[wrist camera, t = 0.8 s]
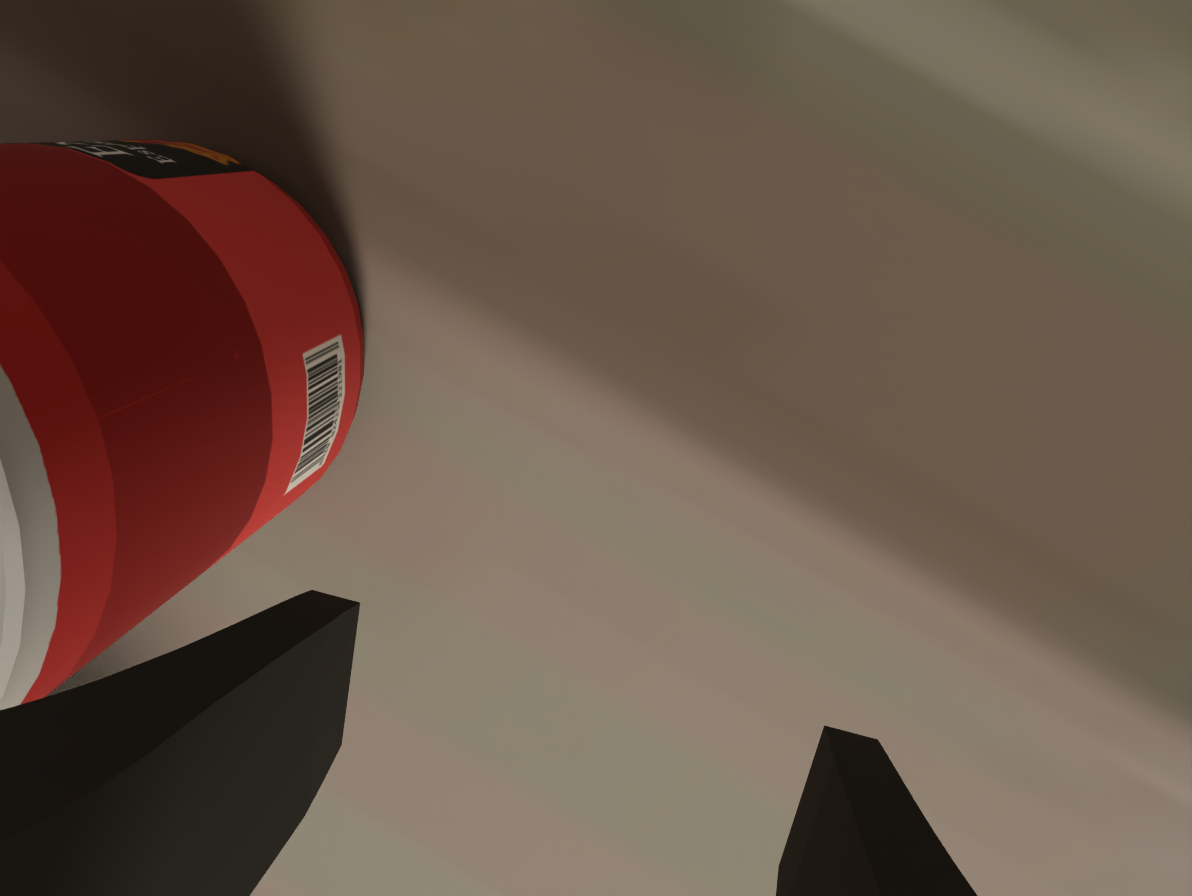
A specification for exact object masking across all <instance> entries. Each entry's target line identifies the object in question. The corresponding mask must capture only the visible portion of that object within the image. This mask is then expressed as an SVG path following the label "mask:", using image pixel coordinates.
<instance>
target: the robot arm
mask: <svg viewBox="0 0 1192 896" xmlns="http://www.w3.org/2000/svg"><path fill="white" fill-rule="evenodd" d="M359 607H360V603H359V602H355V601H352V600H348V599H344V598H340V597H337V596H333V595H329V594H325V593H321V592H318V591H314V590H310V591H308V592H305V593H303V594H300V595H298V596H295V597H293V598H291V599H288V600H286V601H284V602H281V603H279V604H277V605H275V606H273V607H271V608H268V609H266V610H264V611H262V612H260V613H257V614H255V615H253V616H251V617H249V618H247V619H244V620H242V621H240V622H238V623H236V624H234V625H231V626H229V627H227V628H225V629H222V630H220V631H218V632H216V633H213V634H211V635H209V636H207V637H204V638H202V639H200V640H198V641H195V642H193V643H191V644H189V645H186V646H184V647H182V648H179V649H177V650H174V651H172V652H169V653H167V654H164V655H162V656H159V657H157V658H154V659H151V660H149V661H146V662H144V663H141V664H139V665H136V666H133V667H131V668H128V669H126V670H123V671H121V672H118V673H116V674H113V675H110V676H108V677H105V678H103V679H100V680H97V681H94V682H91V683H88V684H86V685H83V686H80V687H77V688H73V689H70V690H67V691H64V692H61V693H58V694H55V695H51V696H48V697H45V698H41V699H38V700H34V701H31V702H28V703H24V704H21V705H17V706H14V707H10V708H7V709H3V710H0V896H250V894H251V893H252V891H253V890H254V888H255V887H256V886H257V884H258V883H259V881H260V880H261V878H262V877H263V876H264V874H265V873H266V871H267V870H268V868H269V867H270V866H271V864H272V863H273V861H274V860H275V858H276V857H277V855H278V854H279V853H280V851H281V850H282V848H283V847H284V845H285V844H286V842H287V841H288V840H289V838H290V837H291V835H292V834H293V832H294V831H295V829H296V828H297V826H298V825H299V823H300V822H301V821H302V819H303V818H304V816H305V814H306V812H307V811H308V809H309V807H310V805H311V803H312V801H313V799H314V798H315V796H316V794H317V792H318V790H319V788H320V786H321V784H322V782H323V780H324V778H325V777H326V775H327V773H328V771H329V769H330V767H331V765H332V763H333V761H334V759H335V757H336V755H337V753H338V751H339V749H340V747H341V745H342V737H343V729H344V722H345V714H346V706H347V699H348V691H349V684H350V676H351V668H352V661H353V653H354V645H355V638H356V630H357V623H358V615H359ZM776 896H977V895H976V893H975V892H974V890H973V889H972V887H971V886H970V885H969V883H968V882H967V880H966V879H965V877H964V876H963V875H962V873H961V872H960V870H959V869H958V867H957V866H956V864H955V863H954V861H953V860H952V858H951V857H950V856H949V854H948V852H947V851H946V849H945V848H944V846H943V845H942V843H941V842H940V840H939V839H938V837H937V836H936V834H935V833H934V831H933V829H932V828H931V826H930V825H929V823H928V821H927V820H926V818H925V817H924V815H923V814H922V812H921V810H920V809H919V807H918V805H917V804H916V802H915V800H914V799H913V797H912V795H911V794H910V792H909V790H908V789H907V787H906V785H905V784H904V782H903V781H902V779H901V777H900V776H899V774H898V772H897V771H896V769H895V767H894V766H893V764H892V762H891V760H890V759H889V757H888V755H887V754H886V752H885V750H884V749H883V747H882V746H881V744H880V742H879V741H878V740H877V739H873V738H869V737H866V736H862V735H858V734H854V733H851V732H847V731H843V730H839V729H835V728H832V727H828V726H824V728H823V731H822V735H821V738H820V741H819V744H818V747H817V750H816V753H815V756H814V759H813V762H812V765H811V769H810V772H809V775H808V778H807V781H806V784H805V787H804V790H803V793H802V796H801V799H800V802H799V806H798V809H797V812H796V815H795V818H794V821H793V824H792V827H791V830H790V833H789V836H788V840H787V843H786V846H785V849H784V852H783V855H782V858H781V861H780V864H779V870H778V880H777V891H776Z"/></svg>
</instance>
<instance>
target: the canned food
mask: <svg viewBox="0 0 1192 896" xmlns="http://www.w3.org/2000/svg"><path fill="white" fill-rule="evenodd" d="M363 375H364V335H363V329H362V324H361V318H360V312H359V307H358V302H357V299H356V297H355V294H354V291H353V288H352V286H351V283H350V280H349V277H348V275H347V272H346V269H345V267H344V265H343V264H342V262H341V260H340V258H339V257H338V255H337V253H336V251H335V250H334V248H333V246H332V244H331V242H330V241H329V239H328V237H327V236H326V234H325V233H324V232H323V231H322V230H321V228H320V227H319V226H318V225H317V223H316V222H315V221H314V220H313V219H312V217H311V216H310V215H309V214H308V212H307V211H306V210H305V209H304V208H303V207H302V206H301V205H300V204H299V203H298V202H296V201H295V200H294V199H293V198H292V197H291V196H289V195H288V194H287V193H286V192H285V191H284V190H282V189H281V188H280V187H279V186H278V185H277V184H275V183H274V182H272V181H270V180H269V179H267V178H265V177H264V176H262V175H260V174H259V173H257V172H255V171H253V170H252V169H250V168H248V167H247V166H245V165H243V164H241V163H240V162H238V161H236V160H235V159H233V158H231V157H229V156H227V155H224V154H221V153H218V152H215V151H212V150H210V149H207V148H204V147H201V146H198V145H195V144H190V143H182V142H173V141H164V140H127V141H88V142H49V143H11V144H0V710H3V709H7V708H10V707H14V706H17V705H21V704H24V703H28V702H31V701H34V700H38V699H41V698H44V697H45V696H47V695H48V694H49V693H51V692H52V691H53V690H54V689H56V688H57V687H58V686H59V685H61V684H62V683H63V682H65V681H66V680H67V679H68V678H70V677H71V676H72V675H73V674H75V673H76V672H77V671H79V670H80V669H81V668H82V667H84V666H85V665H86V664H87V663H89V662H90V661H91V660H93V659H94V658H95V657H96V656H98V655H99V654H100V653H101V652H103V651H104V650H105V649H107V648H108V647H109V646H110V645H112V644H113V643H114V642H115V641H117V640H118V639H119V638H120V637H122V636H123V635H124V634H126V633H127V632H128V631H129V630H131V629H132V628H133V627H134V626H136V625H137V624H138V623H140V622H141V621H142V620H143V619H145V618H146V617H147V616H148V615H150V614H151V613H152V612H154V611H155V610H156V609H157V608H159V607H160V606H161V605H162V604H164V603H165V602H166V601H168V600H169V599H170V598H171V597H173V596H174V595H175V594H176V593H178V592H179V591H180V590H182V589H183V588H184V587H185V586H187V585H188V584H189V583H190V582H192V581H193V580H194V579H196V578H197V577H198V576H199V575H201V574H202V573H203V572H204V571H206V570H207V569H208V568H210V567H211V566H212V565H213V564H215V563H216V562H217V561H218V560H220V559H221V558H222V557H224V556H225V555H226V554H227V553H229V552H230V551H231V550H232V549H234V548H235V547H236V546H238V545H239V544H240V543H241V542H243V541H244V540H245V539H246V538H248V537H249V536H250V535H252V534H253V533H254V532H255V531H257V530H258V529H259V528H260V527H262V526H263V525H264V524H266V523H267V522H268V521H269V520H271V519H272V518H273V517H274V516H276V515H277V514H278V513H280V512H281V511H282V510H283V509H285V508H286V507H287V506H288V505H290V504H291V503H292V502H293V501H295V500H296V499H297V498H298V497H300V496H301V495H302V494H303V493H304V492H305V491H306V490H307V489H309V488H310V487H311V486H312V485H313V484H314V483H315V482H316V481H318V480H319V479H320V478H321V477H322V475H323V474H324V473H325V471H326V470H327V468H328V467H329V466H330V464H331V463H332V461H333V460H334V458H335V457H336V456H337V454H338V453H339V451H340V449H341V447H342V445H343V442H344V440H345V437H346V435H347V433H348V430H349V428H350V426H351V423H352V421H353V418H354V415H355V412H356V409H357V405H358V401H359V395H360V390H361V385H362V380H363Z"/></svg>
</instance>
